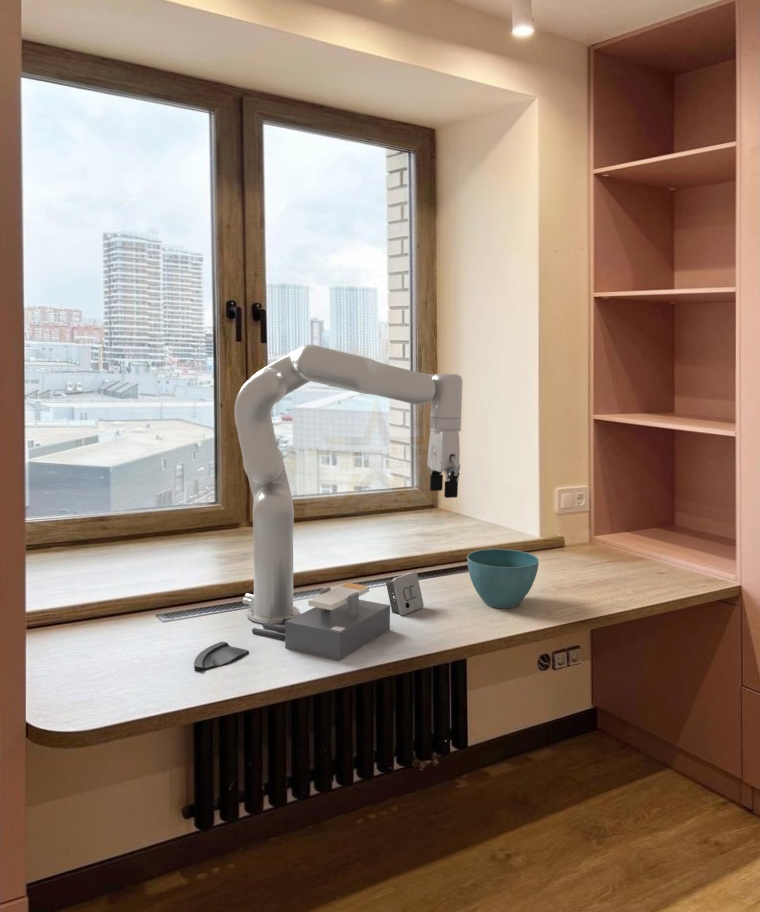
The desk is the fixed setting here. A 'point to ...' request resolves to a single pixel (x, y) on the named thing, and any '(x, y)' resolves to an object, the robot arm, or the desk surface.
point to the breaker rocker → (337, 596)
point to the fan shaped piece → (218, 656)
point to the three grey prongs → (272, 627)
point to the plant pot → (502, 575)
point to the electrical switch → (405, 593)
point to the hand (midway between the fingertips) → (443, 493)
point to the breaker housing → (337, 628)
